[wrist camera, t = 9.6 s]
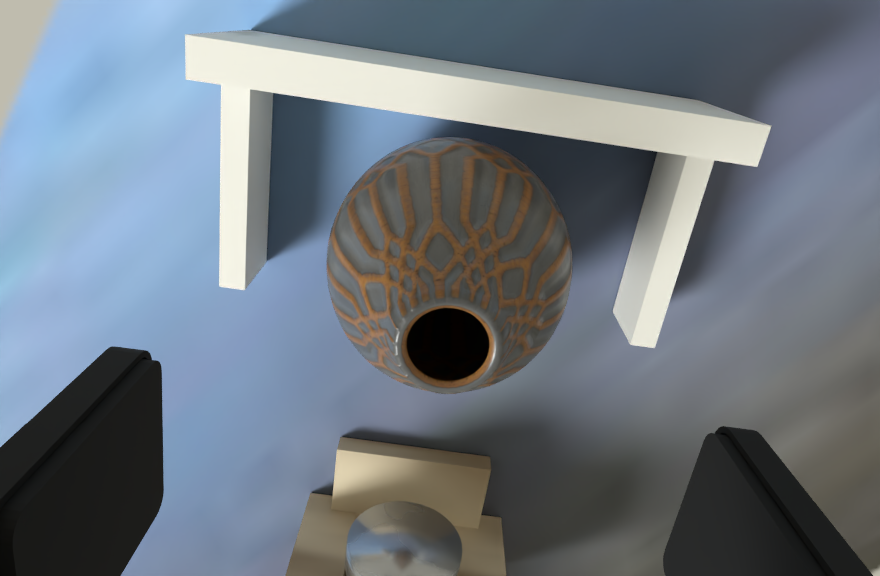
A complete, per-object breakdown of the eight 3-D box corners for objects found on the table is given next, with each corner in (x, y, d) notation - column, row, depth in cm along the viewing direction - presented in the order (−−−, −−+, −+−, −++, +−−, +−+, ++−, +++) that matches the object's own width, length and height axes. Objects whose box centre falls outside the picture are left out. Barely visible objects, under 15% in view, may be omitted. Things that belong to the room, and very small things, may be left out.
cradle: (634, 314, 23) (679, 390, 18) (243, 258, 22) (188, 321, 18) (698, 100, 20) (771, 125, 15) (249, 30, 19) (185, 34, 15)
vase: (543, 106, 20) (604, 167, 12) (558, 303, 23) (616, 461, 15) (329, 136, 21) (249, 215, 12) (369, 326, 23) (324, 491, 15)
